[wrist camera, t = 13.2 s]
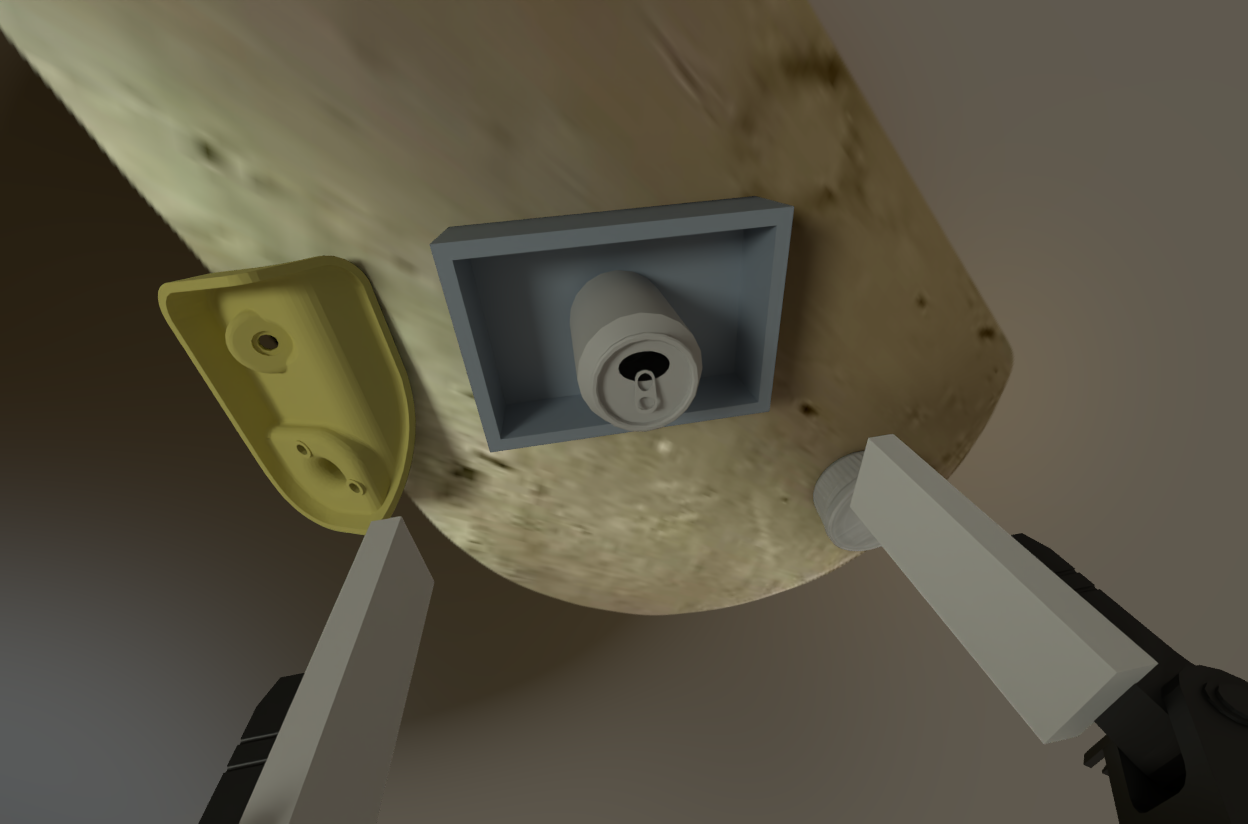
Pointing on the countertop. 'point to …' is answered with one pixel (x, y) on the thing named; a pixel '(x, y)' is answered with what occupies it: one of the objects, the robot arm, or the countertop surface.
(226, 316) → the plastic component
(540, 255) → the bin
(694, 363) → the can
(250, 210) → the countertop surface
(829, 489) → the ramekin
